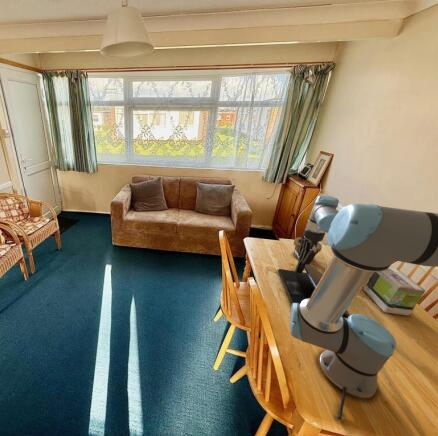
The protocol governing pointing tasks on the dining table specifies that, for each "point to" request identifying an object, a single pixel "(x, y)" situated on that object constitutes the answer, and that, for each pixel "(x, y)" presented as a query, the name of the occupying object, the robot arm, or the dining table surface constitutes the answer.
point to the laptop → (297, 286)
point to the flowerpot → (298, 242)
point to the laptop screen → (315, 276)
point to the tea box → (394, 291)
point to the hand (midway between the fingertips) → (298, 272)
